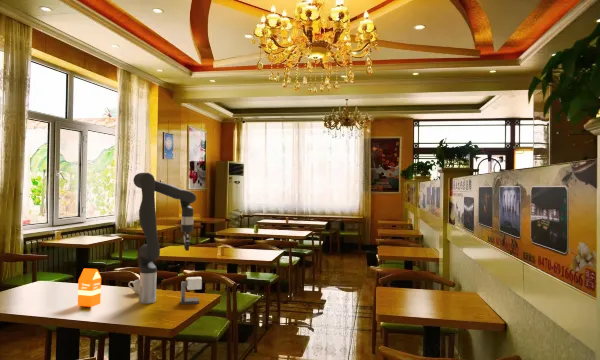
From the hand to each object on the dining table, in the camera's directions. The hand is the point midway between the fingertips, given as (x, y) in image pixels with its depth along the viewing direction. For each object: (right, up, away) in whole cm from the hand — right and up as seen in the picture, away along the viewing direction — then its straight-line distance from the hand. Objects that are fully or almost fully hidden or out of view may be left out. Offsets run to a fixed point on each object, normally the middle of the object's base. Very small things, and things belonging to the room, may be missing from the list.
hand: (186, 249), depth 266 cm
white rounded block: (+9, -20, -17) cm, 28 cm away
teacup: (-29, -28, 0) cm, 40 cm away
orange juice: (-48, -27, -27) cm, 61 cm away
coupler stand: (+7, -28, -18) cm, 34 cm away
